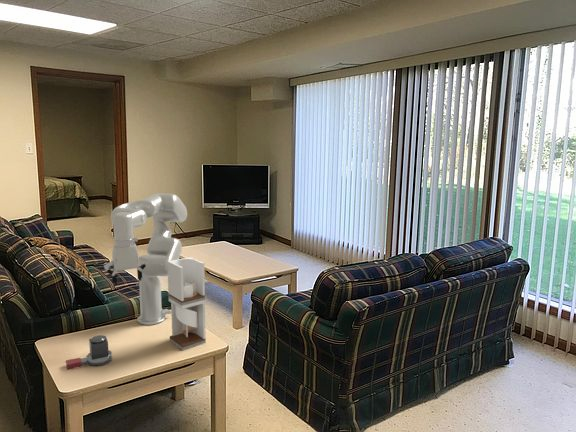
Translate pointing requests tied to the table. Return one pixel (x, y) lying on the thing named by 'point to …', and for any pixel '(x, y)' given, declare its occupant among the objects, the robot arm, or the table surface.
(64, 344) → the table surface
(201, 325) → the two-tier white tower
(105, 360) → the ratchet
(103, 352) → the socket
